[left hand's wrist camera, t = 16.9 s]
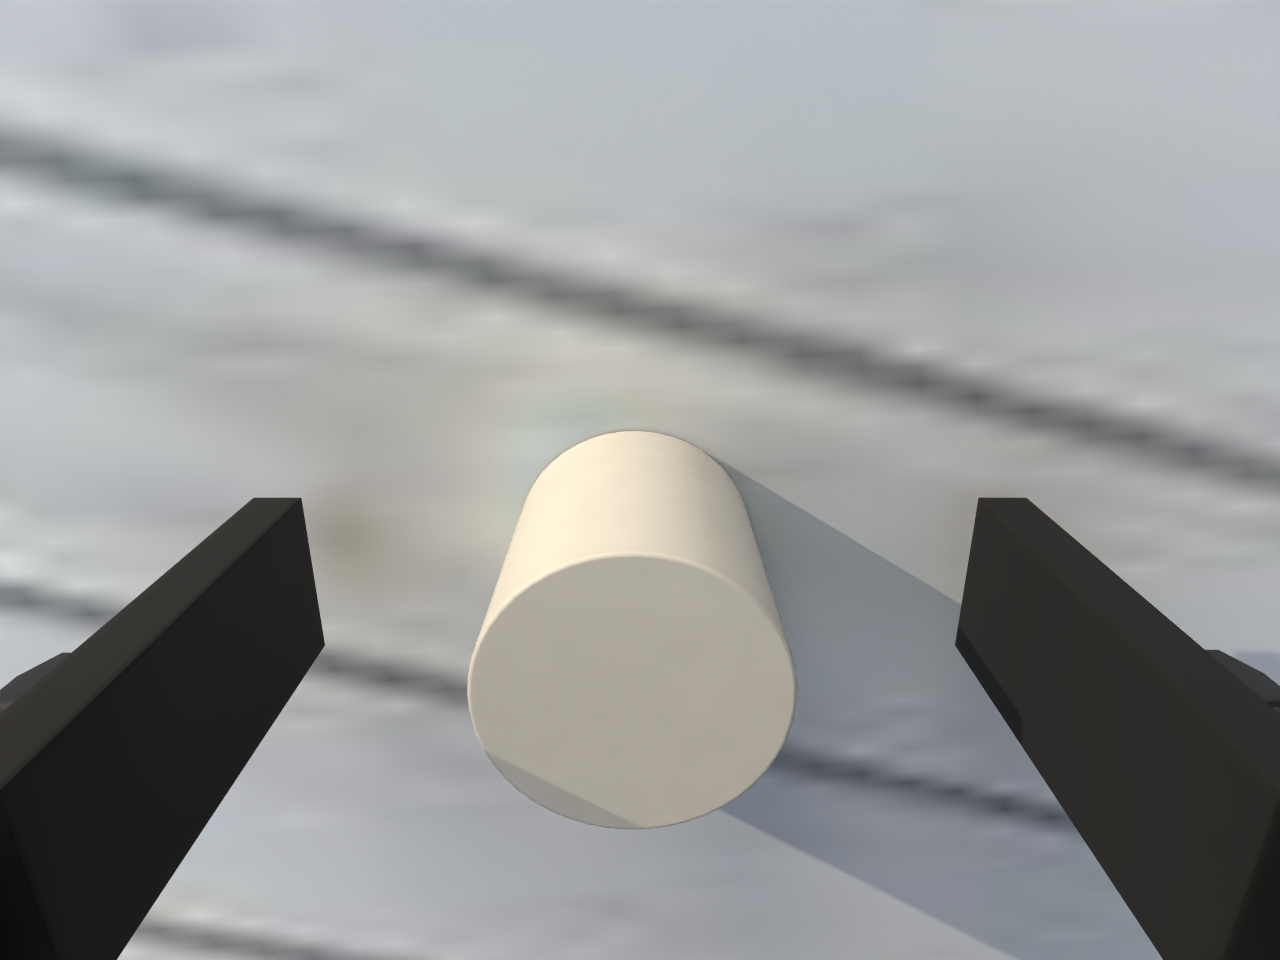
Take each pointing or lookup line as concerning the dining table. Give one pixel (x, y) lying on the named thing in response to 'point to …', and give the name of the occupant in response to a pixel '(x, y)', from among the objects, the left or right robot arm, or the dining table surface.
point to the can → (632, 640)
